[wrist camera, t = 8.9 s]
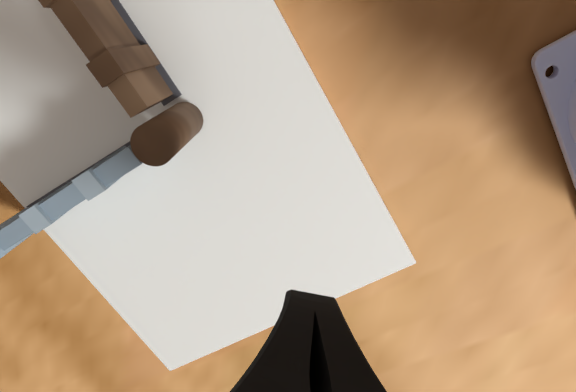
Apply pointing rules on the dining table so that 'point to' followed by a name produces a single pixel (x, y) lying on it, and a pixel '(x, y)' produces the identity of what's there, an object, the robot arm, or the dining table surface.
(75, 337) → the dining table surface
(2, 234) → the fence folding panel
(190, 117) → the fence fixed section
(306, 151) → the card
